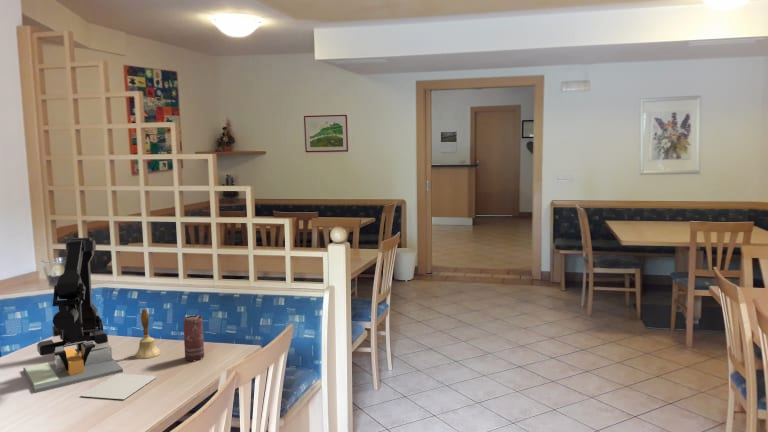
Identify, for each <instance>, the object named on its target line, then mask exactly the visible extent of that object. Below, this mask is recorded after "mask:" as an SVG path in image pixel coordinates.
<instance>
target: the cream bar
mask: <svg viewBox="0 0 768 432" xmlns="http://www.w3.org/2000/svg"><path fill="white" fill-rule="evenodd" d="M94 345H95V347H94V348H92V349H91V350H95V349H99V348H104V347H108V345H109V341H108V342H106V343H102V344H97V343H95V342H94Z"/></svg>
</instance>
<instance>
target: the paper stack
mask: <svg viewBox="0 0 768 432" xmlns="http://www.w3.org/2000/svg"><path fill="white" fill-rule="evenodd" d="M157 377H158V376H156V375H147V374H146V375H144V374H128V373H116V374H113V375H111V376H110V377H109V378H107V379H106V380H104V381H102V382H101V383H98V384H97V385H95V386H94V387H92V388H90V389H89V390H88V391H85V392H84V393H82V394H81V395H80V397H88V398H100V399H115V400H126V399H127V398H128V397H130V396H131V395H133V394H134V393H135V392H137V391H139V390H140V389H141V388H143V387H144V386H146V385H147V384H148V383H150V382H152V381H153V380H155V379H156V378H157Z"/></svg>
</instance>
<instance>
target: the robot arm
mask: <svg viewBox="0 0 768 432" xmlns="http://www.w3.org/2000/svg"><path fill="white" fill-rule="evenodd" d="M96 246H97V243H96V240H94V239H92V237H91V236H89V237H75V238H74V237H71V238H70V240H68V241H65V253H67V254H66V257H65V258H66V259H65V264H64V269H63V270H64V271H63V273H62V274H61V275H60V276H59V277H58V278H57V281H56V284H55V285H54V288H53V298H52V307H58V310H57V312H56V313H55V314H54V316H53V318H52V325H53V326H52V327H51V328H52V329H51V333H52V336H53V337H54V338H55V337H59V339H60V341H56V342H54V341H53V340H52V339H48V340H43V341H42V340H41V341H38V343H37V344H36V350H37V353H38V354H39V355H40V356H46V355H52V354H53V355H54V356H58V355H59V357H60V358H61V360H62V362H63V364H64V366H65V368H66V370H67V371H68V362H67V356H66V352H65V350H66V349H65V347H71V346H76V350H78V352H79V351H82V355H81V358H82V359H83V361H84V366H85V363H86V360H87V357H88V355H89V353H90V351H91V349H92V348H94V347H95V345H94V342H95V343H97V344H102V343H106V342H108V343H109V338H108V337H109V336H108V334H107V333H106V331H105V332H104V323H103V319H102V318H101V316H100V315H99V310H98V308H97V307H96V306H95V305H94V303H93V294H92V279H91V278H92V277H91V261H92V259H93V257H94V256H95V251H96V249H97V247H96Z"/></svg>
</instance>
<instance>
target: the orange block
mask: <svg viewBox="0 0 768 432" xmlns="http://www.w3.org/2000/svg"><path fill="white" fill-rule="evenodd" d="M64 350H65V352H66V356H67V362H68V371H67V370H66V371H67V372H68V374H69V375H74V374H79V373H83V372H84V361H83V359H82V358H81V356H80V353H78V352H77V351H76V350H75V348H74V347H72V348H67V349H64ZM63 367H64V368H65V366H64V364H63ZM65 369H66V368H65Z"/></svg>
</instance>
